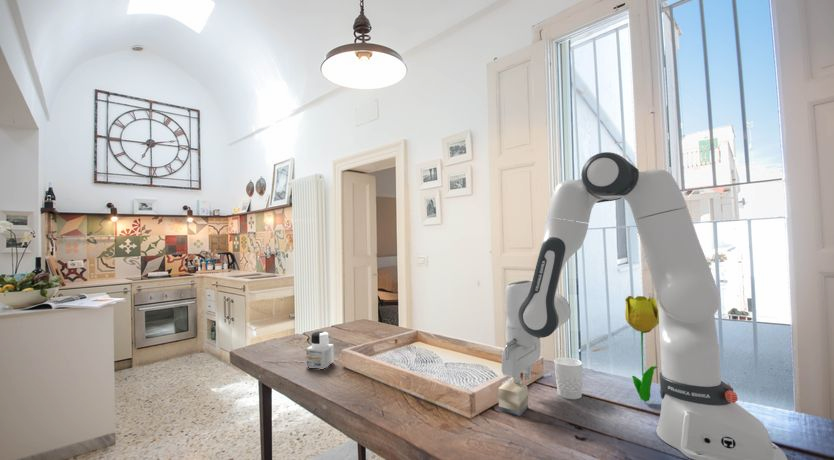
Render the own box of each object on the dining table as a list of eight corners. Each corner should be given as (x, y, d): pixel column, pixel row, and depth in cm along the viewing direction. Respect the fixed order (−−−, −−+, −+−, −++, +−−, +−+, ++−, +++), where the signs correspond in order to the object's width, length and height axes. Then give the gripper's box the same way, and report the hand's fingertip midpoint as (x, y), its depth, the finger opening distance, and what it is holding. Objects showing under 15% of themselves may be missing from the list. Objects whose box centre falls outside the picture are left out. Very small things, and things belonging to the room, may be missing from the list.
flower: (621, 400, 105) (617, 296, 106) (638, 394, 109) (634, 293, 110) (652, 412, 97) (647, 300, 99) (670, 405, 101) (664, 297, 102)
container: (306, 368, 140) (305, 334, 140) (317, 362, 147) (316, 329, 147) (323, 370, 137) (323, 335, 138) (334, 363, 145) (333, 330, 145)
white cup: (553, 397, 108) (552, 363, 109) (557, 388, 115) (555, 356, 116) (582, 402, 105) (581, 367, 105) (584, 392, 112) (583, 359, 112)
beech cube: (528, 407, 102) (527, 385, 102) (519, 415, 98) (518, 393, 98) (508, 402, 106) (507, 381, 106) (498, 410, 101) (498, 388, 102)
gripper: (516, 345, 98) (518, 397, 97) (543, 330, 114) (545, 375, 113) (495, 342, 102) (496, 392, 101) (524, 327, 118) (525, 371, 117)
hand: (522, 383), depth 107 cm, fingers open, 5 cm apart
